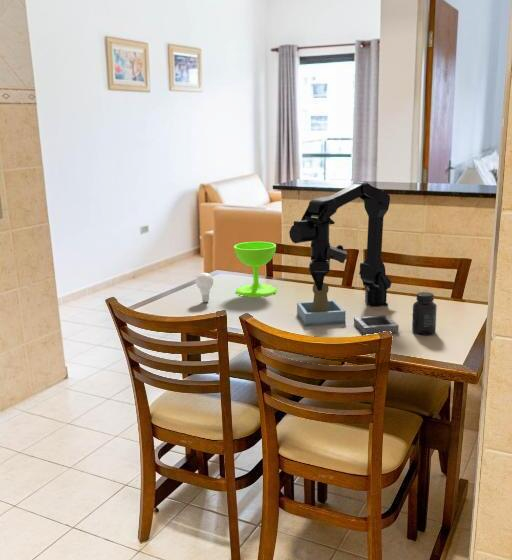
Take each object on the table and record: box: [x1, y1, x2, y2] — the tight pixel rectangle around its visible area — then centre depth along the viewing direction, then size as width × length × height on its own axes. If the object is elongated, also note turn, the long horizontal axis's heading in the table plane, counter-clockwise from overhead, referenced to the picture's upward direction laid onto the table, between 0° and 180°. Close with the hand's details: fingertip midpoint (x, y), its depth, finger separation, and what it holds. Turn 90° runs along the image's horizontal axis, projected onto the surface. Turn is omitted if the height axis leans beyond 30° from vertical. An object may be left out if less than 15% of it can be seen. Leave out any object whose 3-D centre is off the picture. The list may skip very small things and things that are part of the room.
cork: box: [312, 282, 330, 312], centre depth 199 cm, size 6×6×11 cm
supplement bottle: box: [411, 291, 438, 337], centre depth 184 cm, size 7×7×12 cm
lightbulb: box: [195, 272, 214, 303], centre depth 222 cm, size 6×6×11 cm
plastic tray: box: [296, 299, 346, 327], centre depth 200 cm, size 13×13×4 cm
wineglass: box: [233, 241, 278, 298], centre depth 233 cm, size 16×16×18 cm
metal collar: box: [353, 314, 399, 336], centre depth 189 cm, size 11×11×2 cm
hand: (320, 286), depth 198 cm, fingers open, 9 cm apart
